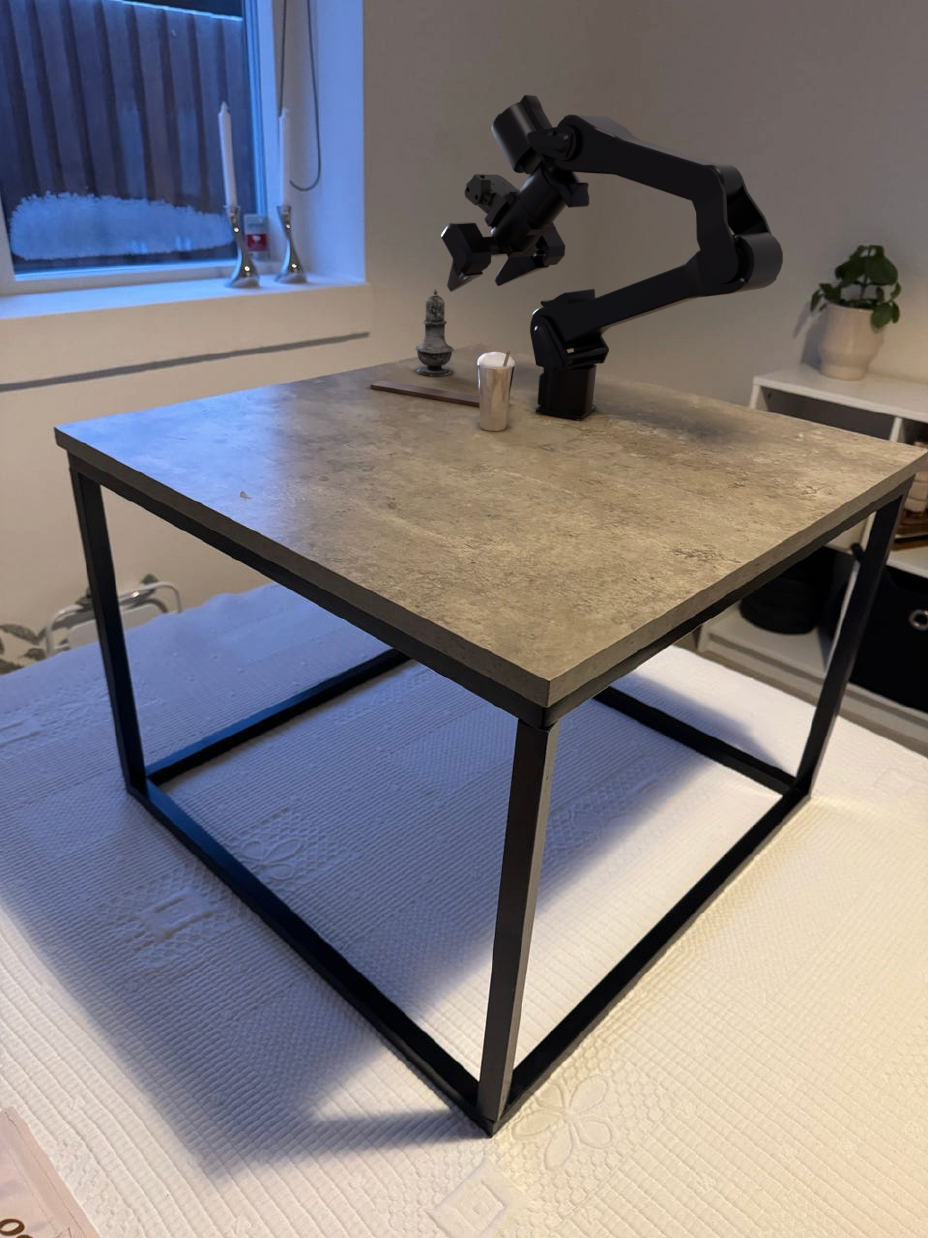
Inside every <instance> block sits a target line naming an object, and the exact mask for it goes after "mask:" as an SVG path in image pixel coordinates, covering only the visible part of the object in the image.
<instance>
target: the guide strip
mask: <svg viewBox="0 0 928 1238" xmlns="http://www.w3.org/2000/svg"><path fill="white" fill-rule="evenodd" d="M370 389H372V390H377V391H385V392H389V393H394V394H400V395H401V394H402V395H408V396H413V397H419V398H424V399H431V400H436V401H441V402H442V401H443V402H447V403H453V404H459V405H464V406H465V405H466V406H471V407H477V408H480V406H479V395H475V394H469V393H463V392H455V391H451V390H444V389H438V388H432V387H427V386H420V385H414V384H409V383H403V382H402V383H401V382H395V381H390V380H384V379H380V380H378V381H375V382H373V383H370Z"/></svg>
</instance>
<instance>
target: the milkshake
mask: <svg viewBox="0 0 928 1238" xmlns="http://www.w3.org/2000/svg"><path fill="white" fill-rule="evenodd" d="M510 354H511V351H509V350H508V351H507V350H506V353H504V352H500V351H491V352H485V353H482V354H481V355H480V356H479V357H478V358H477V362H476V363H477V377H478V379H477V380H478V396H479V406H480V407H479V427H480V428H481V429H482V430H485V431H490V432H500V431H504V430H505V429H507V423H508V417H509V408H510V400H511V392H512V385H513V381H514V373H515V366H516V361H515V360H514V358H513V357H512V356H511V355H510Z"/></svg>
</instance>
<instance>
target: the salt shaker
mask: <svg viewBox="0 0 928 1238" xmlns="http://www.w3.org/2000/svg"><path fill="white" fill-rule="evenodd" d="M432 293H433V294H432V295H431V296H429V297H427V298H426V300H425V319H424V320H423V321H422V324H424V337H423V341H422V343H421V344H418V345H416V346H415V347H414V350H415V351H416V355H417V358H418V360H419V362H420V363H422V366H421V367H419V368H417V370H416V373H417V374H418V375H421V376H425V377H446V376H449V375H451V374H452V370H451V369H450V368H448V367H447V366H445V365H447V364H448V363H450V361H451V359H452V355H453V352H454V351H455V348H454V347H453V346H451V345H449V344H448V343H447V340H446V336H445V335H446V333H445V332H446V331H445V328H446V324H448V321H447V320H445V311H446V310H445V308H446V307H445V305H446V304H445V303H446V302H445V300H444V298H443V297H442V296H440V295H438V290H437V289H436V288H435V289H434V290H433V291H432Z"/></svg>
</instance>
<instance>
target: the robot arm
mask: <svg viewBox="0 0 928 1238" xmlns="http://www.w3.org/2000/svg"><path fill="white" fill-rule="evenodd" d="M541 103H542V102H541V101H540V100H539V97H538V96H537V95H530V94H524V95H523V96H522V98H521V99H520V101H518V102H515V103H513V104H511V105H510V106H508V107H507V108H506V109H504V110H503V111H502V112H500V113H498V114H497V116H496V117H495V119H494V120H493V122H492V125H491V133H492V136H493V137H494V139H495V140H496V143H497V144H498V145H499V147H500V150H501V151H502V153H503V155H504V157H505V158H506V159H507V162H508V163H509V165H510V167H511V168H512V170H513V172H515V173H517V174H526V175H529V176H528V177H527V178H526V180H525V181H524V182H523V184H522V185H521V187H520V188H519V189H518V188H517V187H515V186H514V185H513V184H512V183H511V182H510V181H508V180H507V179H506V178H505V177H503V176H502V175H499V174H484V173H483V174H482V173H481V174H479V173H476V174H473V176H471V178H470V179H469V180H468V181H467V182H466V184H465V189H464V197H465V198H466V199H467V201H469V202H470V203H472V205H474V206H476V207H478V208H479V209H481V210H482V211H483V212H484V213H485V214H486V216H485V217H484V223H486V225H487V227H488V228H490V229H491V230H490V233H491V236H483V234H482V231H481V230H480V228H479V226H478V225H477V223H476V222H471V221H464V222H461V221H460V222H449V223H448V224H447V226H446V227H445V228H444V230H443V232H442V233H441V236H440V238H441V240H442V242H443V243H444V246H445V247H446V249H447V251H448V253H449V254H450V256H451V258H452V260H451V261H452V262H451V266H450V271H449V274H448V278H447V284H446V287H447V289H448V291H449V293H450V292H454V291H456V290H459V289H460V288H462V287H463V286H465V285H467V284H468V283H470V282H472V281H474V280H476V279H477V278H479V277H481V276H482V275H483V274H484V270H486V269H487V268H488V267H489V266H490V265H491V263H492V258H493V257H504V256H506V257H507V258H506V261H505V262H504V263H503V265H502V266H501V268H500V270H499V271H498V273H497V275H496V276H495V278H494V283H495V284H496V286H497V287H501V286H503V285H505V284H508V283H511V282H513V281H515V280H518V279H520V278H524V277H525V276H528V275H530V274H531V275H532V274H534V273H536V272H538V271H541V270H544V269H548V268H549V267H550V266H557V265H558V264H559V263H560V261H561V260H562V259H563V258H564V257H565V255H566V244H565V242H564V241H563V239H562V237H561V235H560V233H559V232H558V230H557V227H556V225H555V223H554V222H555V220H556V219H557V218H558V217H559V215H560V214H561V213H562V212H563V210H565V208H566V207H567V208H588V207H589V205H590V194H589V182H587V181H583V182H582V181H581V179H580V177H579V176H578V174H577V173H580V174H581V173H582V174H583V173H584V174H597V175H598V174H600V175H612V176H614V175H615V176H617V177H620V178H623V179H625V180H626V179H627V180H629V181H632V182H635V183H638V184H640V185H644V186H646V187H650V188H653V189H655V190H658V191H662V192H664V193H666V194H671V195H672V196H676V197H679V198H681V199H685V200H687V201H690V202H691V203H692V206H693V208H694V211H695V234H696V242H697V244H698V247H699V250H697V251H696V252H695V253H694V254H692V256H690V258H688V260H686V261H685V262H684V263H683V264H681V265H679V266H677V267H674V268H672V269H669V270H667V271H664V272H661V273H658V274H655V275H653V276H650V277H648V278H645V279H641V280H640V281H637V282H634V283H631V284H629V285H627V286H624V287H621V288H618V289H616V290H613V291H610V292H607V293H604V294H603V295H602V294H601V295H600V296H597V297H596V290H595V288H589V289H582V290H581V289H580V290H574V291H567V292H563V293H561V294H559V295H558V296H556V297H555V298H553V299H547V300H546V299H545V300H541V301H540V305H541V306H540V307H538V308H536V309H535V310H534V311H533V312H532V314H531V317H532V318H531V320H530V324H529V325H530V326H529V335H530V339H531V345H532V350H533V356H534V362H535V366H537V367H540V368H543V370H542V372H541V373H540V374H539V376H538V389H537V405H538V406H537V407H536V408H535V413H538V414H542V415H548V416H553V417H554V416H555V417H561V418H567V419H573V420H579V421H580V420H583V419H585V417H587V416H588V415H590V414H592V412H594V411H595V410H597V404H593V402H594V393H595V384H596V376H597V375H596V374H597V365H599V364H601V365H602V364H604V363H605V361H606V359H607V357H608V354H609V352H610V348H609V346H608V344H607V342H606V341H605V338H604V337H603V335H604V334H605V332H607V331H608V330H609V329H610V328H612V327H615V326H618V325H621V324H624V323H627V322H631V321H632V320H636V319H639V318H643V317H645V316H648V315H651V314H654V313H657V312H660V311H662V310H663V311H664V310H666V309H669V308H672V307H675V306H679V305H680V304H684V303H686V302H689V301H692V300H696V299H698V298H707V297H715V296H716V297H717V296H724V295H731V294H737V293H742V292H750V291H755V290H759V289H760V290H761V289H765V288H768V287H769V286H771V285H772V284H773V283H774V282H775V281H776V280H777V278H778V276H779V274H780V272H781V270H782V266H783V262H784V252H783V249H782V246H781V243H780V242H779V240H778V239H777V238H776V237H775V236H774V235H773V234H772V232H771V229H770V227H769V226H770V225H769V223H768V221H767V219H766V216H765V215H764V214H763V212H762V210H761V209H760V208H759V206H758V204H757V203H756V202H755V200H754V199H753V197H752V196H751V194H750V192H749V191H748V188H747V186H746V183H745V180H744V177H743V175H742V173H741V172H740V170H738V168H737V167H735V166H734V165H732V164H719V163H716V162H713V161H710V160H706V159H704V158H703V159H702V158H700V157H696V156H694V155H690V154H687V153H683V152H680V151H677V150H674V149H670V148H667V147H665V146H661V145H657V144H654V143H651V142H648V141H645V140H641V139H640V138H638V137H637V136H636V135H633V133H632V132H631V131H630V130H629V129H628V128H627V127H626V126H624V125H622V124H620V123H619V122H617V121H615V120H614V119H613V118H610V117H608V116H601V115H587V114H586V115H585V114H567V115H564V116H563V118H562V119H561V120H560V121H559V123H558V124H557V126H554V127H553V125H552V124H551V121H550V119H549V118H548V116H547V115H546V113H545V111H544V109H543V106H542V104H541ZM732 233H733V234H732ZM568 350H573V351H570V352H569V351H568Z"/></svg>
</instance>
